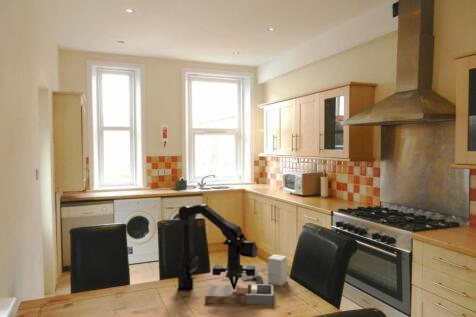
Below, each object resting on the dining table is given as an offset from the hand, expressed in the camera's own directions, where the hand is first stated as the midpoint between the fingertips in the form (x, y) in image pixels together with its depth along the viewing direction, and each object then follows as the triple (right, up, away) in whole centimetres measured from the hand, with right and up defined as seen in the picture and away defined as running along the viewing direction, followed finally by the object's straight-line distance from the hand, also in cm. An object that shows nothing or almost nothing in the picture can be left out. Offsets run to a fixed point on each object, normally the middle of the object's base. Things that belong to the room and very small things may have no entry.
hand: (234, 289), depth 160 cm
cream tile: (+8, -1, -1) cm, 8 cm away
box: (+11, -4, -1) cm, 12 cm away
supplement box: (+21, -3, +18) cm, 28 cm away
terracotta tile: (+4, -1, 0) cm, 4 cm away
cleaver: (+9, -3, +22) cm, 24 cm away
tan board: (-4, -4, +1) cm, 5 cm away
